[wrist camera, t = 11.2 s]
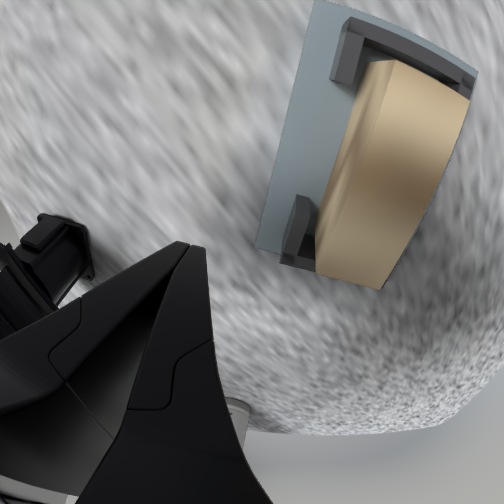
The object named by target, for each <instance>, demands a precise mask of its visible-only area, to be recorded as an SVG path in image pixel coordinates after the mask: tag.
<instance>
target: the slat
mask: <svg viewBox="0 0 504 504" xmlns="http://www.w3.org/2000/svg"><path fill="white" fill-rule="evenodd" d="M469 103H470V101H469V100H468V99H466V98H465V97H463V96H462V95H460V94H458V93H457V92H455V91H454V90H452V89H450V88H449V87H447V86H445V85H444V84H442V83H440V82H438V81H437V80H435V79H433V78H431V77H430V76H428V75H426V74H424V73H422V72H420V71H418V70H416V69H414V68H412V67H410V66H408V65H406V64H404V63H402V62H400V61H397V60H386V61H377V62H368V63H366V64H365V68H364V71H363V75H362V78H361V82H360V85H359V88H358V92H357V95H356V98H355V102H354V105H353V108H352V111H351V115H350V118H349V121H348V124H347V127H346V130H345V133H344V136H343V139H342V143H341V146H340V149H339V152H338V155H337V158H336V160H335V163H334V166H333V169H332V172H331V175H330V178H329V181H328V184H327V186H326V189H325V192H324V195H323V198H322V200H321V203H320V206H319V209H318V211H317V214H316V217H315V220H314V231H315V257H316V274H319V275H323V276H327V277H331V278H335V279H339V280H343V281H346V282H350V283H354V284H358V285H362V286H366V287H370V288H374V289H377V290H380V289H381V287H382V286H383V284H384V282H385V281H386V279H387V278H388V276H389V274H390V273H391V271H392V270H393V268H394V266H395V265H396V263H397V261H398V260H399V258H400V256H401V254H402V253H403V251H404V249H405V248H406V246H407V244H408V242H409V240H410V239H411V237H412V235H413V233H414V231H415V229H416V228H417V226H418V224H419V222H420V220H421V218H422V216H423V214H424V212H425V210H426V208H427V206H428V204H429V202H430V200H431V198H432V196H433V194H434V192H435V190H436V188H437V185H438V183H439V181H440V179H441V177H442V174H443V172H444V170H445V167H446V165H447V163H448V160H449V158H450V156H451V153H452V151H453V148H454V146H455V143H456V140H457V138H458V135H459V132H460V130H461V127H462V124H463V121H464V118H465V115H466V112H467V109H468V106H469Z"/></svg>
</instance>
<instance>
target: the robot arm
mask: <svg viewBox="0 0 504 504" xmlns="http://www.w3.org/2000/svg"><path fill="white" fill-rule="evenodd" d="M37 220H38V223H37V224H36V225H35V226H34V227H33V228H32V229H31V230H30V231H28V232H27V233H26V234H25V235H24V236H23V237H22V238H21V240H20V243H21V244H20V245H19V246H18V247H17V248H16V249H15V250H13V249H12V246H11V244H10V243H8V244H7V245H6V246H5V245H3V244H2V243H0V270H1V272H0V504H65V502H66V499H67V496H68V495H73V496H79V498H78V499H77V501H76V503H75V504H273V502H272V501H271V500H270V498H269V496H268V495H267V494H266V492H265V491H264V489H263V488H262V486H261V484H260V483H259V481H258V480H257V478H256V477H255V475H254V473H253V472H252V470H251V468H250V466H249V464H248V462H247V460H246V458H245V455H244V453H243V450H242V448H241V445H240V442H239V440H238V437H237V434H236V431H235V428H234V425H233V422H232V419H231V415H230V412H229V409H228V406H227V403H226V400H225V396H224V393H223V389H222V385H221V381H220V377H219V373H218V367H217V361H216V354H215V345H214V341H213V340H214V338H213V328H212V319H211V308H210V298H209V286H208V274H207V262H206V249H205V248H204V247H200V246H196V245H191V246H190V244H188V243H184V242H180V241H175V242H173V243H172V244H170V245H168V246H166V247H164V248H163V249H161V250H159V251H157V252H155V253H154V254H152V255H150V256H148V257H146V258H145V259H143V260H141V261H139V262H138V263H136V264H134V265H132V266H131V267H129V268H127V269H125V270H124V271H122V272H120V273H118V274H117V275H115V276H113V277H112V278H110V279H108V280H107V281H105V282H103V283H101V284H100V285H98V286H96V287H95V288H93V289H91V290H90V291H88V292H87V293H85V294H83V295H82V297H78V298H76V299H75V300H73V301H72V302H70V303H68V304H67V305H65V306H63V307H62V308H60V309H59V308H58V305H59V304H60V303H61V301H62V300H63V299H64V297H65V296H66V295H67V293H68V292H69V291H70V289H71V288H72V287H73V286H74V284H75V283H76V282H77V280H78V279H79V278H80V277H82V278H84V279H87V280H90V281H92V280H93V279H94V278H95V275H94V270H93V266H92V262H91V257H90V252H89V247H88V242H87V236H86V231H85V228H84V227H83V226H82V225H79V224H76V223H73V222H69V221H66V220H62V219H59V218H55V217H52V216H49V215H45V214H42V213H41V214H39V215H38V216H37Z"/></svg>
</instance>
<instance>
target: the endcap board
mask: <svg viewBox="0 0 504 504" xmlns="http://www.w3.org/2000/svg"><path fill="white" fill-rule="evenodd" d="M386 60H397V61H400V62H402V63H404V64H406V65H408V66H410V67H412V68H414V69H416V70H418V71H420V72H422V73H424V74H426V75H428V76H430V77H431V78H433V79H435V80H437V81H438V82H440V83H442V84H444V85H445V86H447V87H449V88H450V89H452V90H454V91H455V92H457V93H458V94H460V95H462V96H463V97H465V98H466V99H468V100H469V101H471V98H472V94H473V90H474V87H475V83H476V79H477V75H478V71H477V70H475V69H474V68H472V67H471V66H469V65H468V64H466V63H465V62H463V61H462V60H460V59H459V58H457V57H456V56H454V55H452V54H451V53H449V52H447V51H446V50H444V49H442V48H440V47H439V46H437V45H435V44H433V43H431V42H430V41H428V40H426V39H424V38H422V37H420V36H418V35H416V34H414V33H412V32H410V31H408V30H406V29H403V28H401V27H399V26H397V25H395V24H392V23H390V22H387V21H385V20H383V19H380V18H378V17H375V16H372V15H370V14H367V13H364V12H361V11H358V10H355V9H352V8H349V7H346V6H343V5H340V4H336V3H333V2H329V1H325V0H314V4H313V8H312V12H311V16H310V21H309V25H308V29H307V33H306V37H305V41H304V45H303V49H302V53H301V58H300V62H299V66H298V70H297V74H296V78H295V82H294V86H293V91H292V95H291V99H290V103H289V107H288V111H287V115H286V119H285V123H284V127H283V132H282V136H281V140H280V144H279V148H278V152H277V156H276V160H275V164H274V168H273V172H272V177H271V181H270V185H269V189H268V193H267V197H266V201H265V205H264V209H263V213H262V217H261V222H260V226H259V230H258V234H257V238H256V242H255V246H254V248H258V249H262V250H266V251H270V252H274V253H278V254H281V256H280V263H281V264H285V265H289V266H293V267H297V268H301V269H305V270H309V271H313V272H316V257H315V231H314V220H315V217H316V214H317V211H318V209H319V206H320V203H321V200H322V198H323V195H324V192H325V189H326V186H327V184H328V181H329V178H330V175H331V172H332V169H333V166H334V163H335V160H336V158H337V155H338V152H339V149H340V146H341V143H342V139H343V136H344V133H345V130H346V127H347V124H348V121H349V118H350V115H351V111H352V108H353V105H354V102H355V98H356V95H357V92H358V88H359V85H360V82H361V78H362V75H363V71H364V68H365V64H366V63H368V62H377V61H386ZM469 104H470V103H469ZM468 108H469V106H468ZM467 111H468V109H467ZM466 114H467V112H466ZM465 117H466V115H465ZM464 120H465V118H464ZM463 123H464V121H463ZM462 126H463V124H462ZM461 129H462V127H461ZM460 132H461V130H460ZM460 132H459V135H460ZM459 135H458V137H459ZM457 140H458V138H457ZM457 140H456V143H457ZM456 143H455V145H456ZM454 148H455V146H454ZM454 148H453V151H454ZM453 151H452V153H453ZM452 153H451V156H452ZM451 156H450V158H451ZM450 158H449V160H448V163H449V161H450ZM448 163H447V165H446V167H445V170H446V168H447V166H448ZM445 170H444V172H443V174H442V177H443V175H444V173H445ZM442 177H441V179H440V181H439V183H438V185H437V188H436V190H435V192H434V194H433V196H432V198H431V200H430V202H429V204H428V206H427V208H426V210H425V212H424V214H423V216H422V218H421V220H420V222H419V224H418V226H417V228H416V229H415V231H414V233H413V235H412V237H411V239H410V240H409V242H408V244H407V246H406V248H405V249H404V251H403V253H402V254H401V256H400V258H399V260H398V261H397V263H396V265H395V266H394V268H393V270H392V271H391V273H390V274H389V276H388V278H387V279H386V281H385V282H384V284H383V286H382V287H381V289H382V288H383V287H384V285H385V284H386V282H388V280H389V278H390V277H391V275H392V274H393V272H394V270H395V269H396V267H397V265H398V264H399V262H400V260H401V258H402V257H403V255H404V253H405V251H406V250H407V248H408V246H409V244H410V242H411V241H412V239H413V237H414V235H415V233H416V231H417V229H418V228H419V226H420V224H421V222H422V220H423V218H424V216H425V214H426V212H427V210H428V208H429V206H430V204H431V202H432V199H433V197H434V195H435V193H436V191H437V189H438V186H439V184H440V182H441V180H442Z"/></svg>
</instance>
